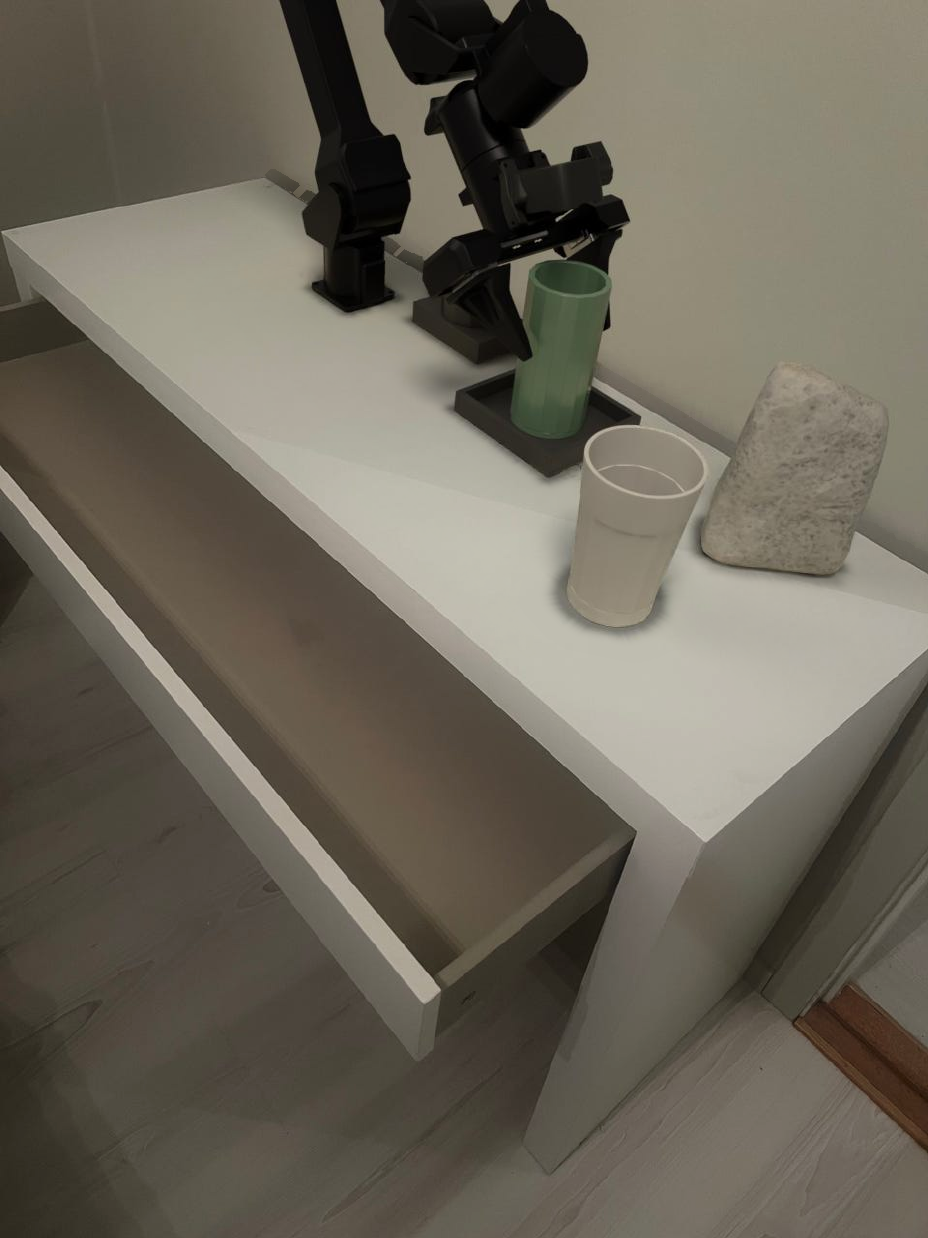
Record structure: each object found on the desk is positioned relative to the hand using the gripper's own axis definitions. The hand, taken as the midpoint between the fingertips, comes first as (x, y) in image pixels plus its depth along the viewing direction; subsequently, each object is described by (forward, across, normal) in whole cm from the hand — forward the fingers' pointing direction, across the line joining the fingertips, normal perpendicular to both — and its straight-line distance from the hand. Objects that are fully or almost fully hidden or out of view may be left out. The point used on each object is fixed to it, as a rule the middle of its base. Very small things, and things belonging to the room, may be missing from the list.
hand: (568, 344), depth 77 cm
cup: (+19, -12, -7) cm, 23 cm away
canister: (+5, 0, +6) cm, 8 cm away
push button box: (-6, +5, +18) cm, 20 cm away
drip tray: (+5, 0, +6) cm, 8 cm away
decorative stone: (+21, +2, -10) cm, 24 cm away
